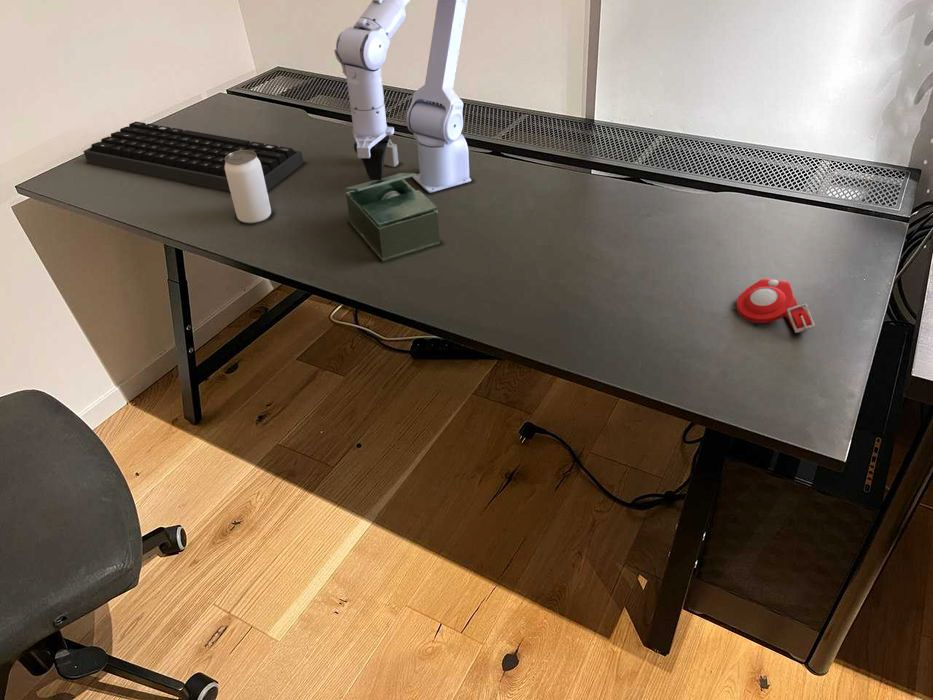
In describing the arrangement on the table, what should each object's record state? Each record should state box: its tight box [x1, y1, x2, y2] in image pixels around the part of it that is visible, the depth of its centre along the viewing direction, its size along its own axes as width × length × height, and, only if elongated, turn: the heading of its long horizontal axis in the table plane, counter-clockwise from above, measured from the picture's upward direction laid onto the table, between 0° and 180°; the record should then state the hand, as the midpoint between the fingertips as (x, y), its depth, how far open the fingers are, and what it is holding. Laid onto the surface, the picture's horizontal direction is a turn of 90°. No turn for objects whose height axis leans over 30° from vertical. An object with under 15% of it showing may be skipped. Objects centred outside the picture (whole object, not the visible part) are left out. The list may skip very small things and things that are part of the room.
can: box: [225, 150, 272, 224], centre depth 141 cm, size 6×6×12 cm
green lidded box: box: [345, 179, 441, 263], centre depth 135 cm, size 15×11×7 cm
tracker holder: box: [736, 278, 816, 334], centre depth 114 cm, size 12×4×10 cm
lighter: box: [384, 138, 399, 168], centre depth 158 cm, size 7×2×8 cm, turn 58°
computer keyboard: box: [83, 121, 304, 192], centre depth 162 cm, size 45×16×4 cm, turn 66°
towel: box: [382, 191, 414, 223], centre depth 139 cm, size 4×6×4 cm
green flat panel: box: [345, 172, 417, 191], centre depth 135 cm, size 7×11×1 cm
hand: (376, 178), depth 136 cm, fingers closed
